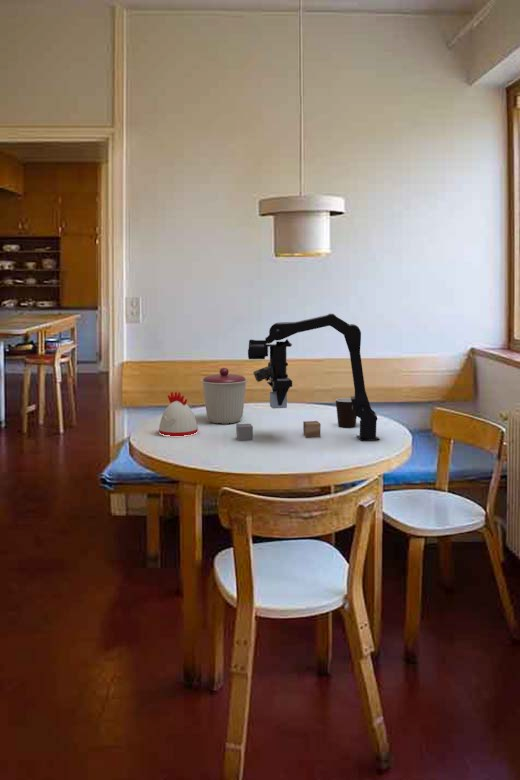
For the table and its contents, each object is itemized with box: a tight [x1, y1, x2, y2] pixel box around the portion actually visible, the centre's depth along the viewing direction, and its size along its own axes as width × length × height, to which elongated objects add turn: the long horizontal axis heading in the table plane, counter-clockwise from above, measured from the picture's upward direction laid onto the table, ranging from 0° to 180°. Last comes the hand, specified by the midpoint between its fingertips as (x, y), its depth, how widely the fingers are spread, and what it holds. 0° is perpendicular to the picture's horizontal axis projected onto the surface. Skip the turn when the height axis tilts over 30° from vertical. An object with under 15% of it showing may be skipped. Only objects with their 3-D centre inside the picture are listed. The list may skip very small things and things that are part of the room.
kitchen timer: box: [158, 391, 199, 436], centre depth 266 cm, size 14×14×15 cm
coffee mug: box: [335, 397, 358, 429], centre depth 277 cm, size 12×9×10 cm
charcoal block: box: [235, 423, 254, 442], centre depth 256 cm, size 5×5×5 cm
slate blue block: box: [269, 391, 288, 410], centre depth 257 cm, size 5×5×5 cm
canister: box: [200, 367, 249, 425], centre depth 286 cm, size 18×18×21 cm
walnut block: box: [302, 420, 321, 439], centre depth 260 cm, size 5×5×5 cm
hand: (278, 404), depth 257 cm, fingers closed on slate blue block, 5 cm apart
